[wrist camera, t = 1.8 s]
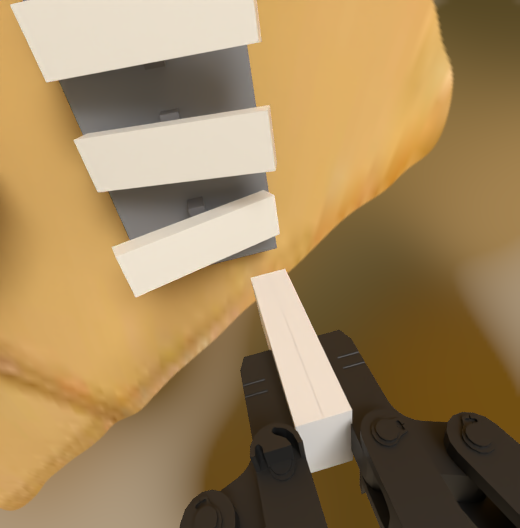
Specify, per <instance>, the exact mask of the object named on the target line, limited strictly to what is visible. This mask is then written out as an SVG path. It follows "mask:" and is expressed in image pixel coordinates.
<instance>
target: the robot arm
mask: <svg viewBox="0 0 520 528" xmlns="http://www.w3.org/2000/svg"><path fill="white" fill-rule="evenodd" d="M251 281H252V285H253V290H254V294H255V298H256V302H257V306H258V310H259V314H260V319H261V323H262V326H263V330H264V333H265V337H266V340H267V344H268V347H269V350H268V351H265V352H261V353H257V354H254V355H250V356H247V357H244V359H243V363H242V367H241V370H240V371H241V377H242V382H243V388H244V394H245V400H246V405H247V410H248V417H249V422H250V427H251V433H252V439H253V441H252V444H251V446H250V458H251V461H250V463H249V466H248V467H247V469H246V470H245V471H244V473H243V474H241V476H239V477H238V478H237V479H236V480H234V481H233V482H232V483H231V484H229V485H228V486H227V487H225V488H224V489H222V490H221V491H216V490H210V491H205V492H202V493H201V494H199V495H198V496H196V497H195V498H194V499H193V500H192V501H191V502H190V504H189V505H188V507H187V508H186V509H185V512H184V515H183V518H182V520H181V524H180V528H328V527H327V524H326V521H325V517H324V514H323V511H322V508H321V505H320V501H319V498H318V495H317V491H316V488H315V485H314V482H313V478H312V475H311V473H312V472H316V471H319V470H322V469H326V468H329V467H332V466H335V465H339V464H342V463H345V462H348V461H352V460H353V455H354V457H355V459H356V462H357V464H358V466H359V469H360V488H361V493H362V494H363V493H365V492H366V494H367V496H368V499H369V501H370V504H371V506H372V508H373V511H374V513H375V516H376V518H377V521H378V523H379V525H380V528H520V444H518V443H517V442H516V441H515V440H514V439H513V438H512V437H510V436H509V435H508V434H507V433H506V432H505V431H503V430H502V429H501V428H500V427H499V426H498V425H496V424H495V423H493V422H492V421H490V420H489V419H487V418H486V417H484V416H481V415H478V414H475V413H466V412H462V413H459V414H456V415H453V416H452V418H451V419H450V420H449V421H448V422H431V421H419V420H414V419H411V418H408V417H406V416H404V415H402V414H401V413H399V412H398V411H397V410H395V409H394V408H393V407H392V406H391V404H390V403H389V402H388V400H387V399H386V397H385V395H384V394H383V392H382V390H381V388H380V387H379V385H378V383H377V382H376V380H375V378H374V377H373V375H372V374H371V372H370V370H369V368H368V366H367V365H366V364H365V362H364V360H363V358H362V357H361V355H360V354H359V352H358V350H357V348H356V346H355V345H354V343H353V341H352V340H351V338H349V337H348V336H347V335H345V334H344V333H343V332H342V331H340V330H337V331H333V332H330V333H326V334H323V335H319V336H317V335H316V333H315V331H314V329H313V327H312V325H311V323H310V320H309V319H308V316H307V314H306V313H305V310H304V308H303V306H302V304H301V302H300V300H299V297H298V295H297V293H296V291H295V289H294V287H293V285H292V283H291V280H290V278H289V276H288V274H287V272H286V270H285V269H282V270H279V271H275V272H271V273H267V274H263V275H260V276H256V277H252V278H251Z"/></svg>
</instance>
